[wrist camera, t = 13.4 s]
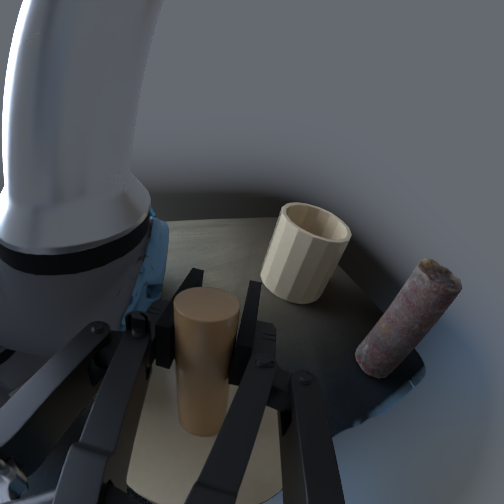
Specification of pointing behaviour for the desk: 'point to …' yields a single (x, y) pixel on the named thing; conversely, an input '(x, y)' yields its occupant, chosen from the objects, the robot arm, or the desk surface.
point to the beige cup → (303, 252)
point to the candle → (408, 318)
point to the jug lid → (198, 408)
